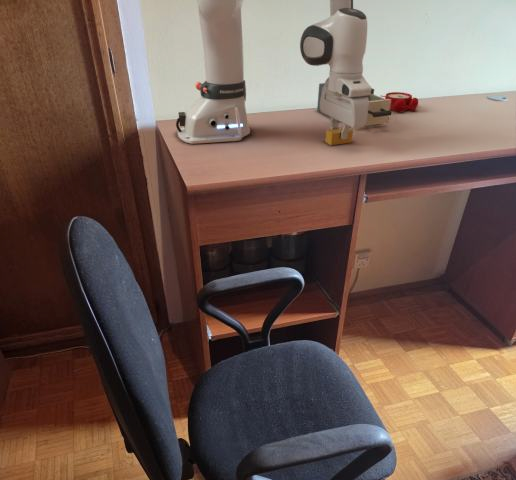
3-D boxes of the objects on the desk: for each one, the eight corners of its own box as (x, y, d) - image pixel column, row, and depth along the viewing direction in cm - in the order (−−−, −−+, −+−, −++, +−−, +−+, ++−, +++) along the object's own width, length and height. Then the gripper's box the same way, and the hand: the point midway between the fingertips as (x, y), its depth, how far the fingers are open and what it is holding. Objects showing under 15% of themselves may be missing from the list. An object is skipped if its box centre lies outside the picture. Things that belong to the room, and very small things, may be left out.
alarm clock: (400, 91, 165) (427, 89, 153) (399, 110, 168) (425, 110, 156) (376, 93, 162) (401, 92, 150) (375, 113, 165) (400, 113, 153)
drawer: (396, 127, 141) (400, 103, 136) (365, 131, 137) (369, 107, 133) (364, 112, 154) (367, 90, 149) (335, 116, 150) (337, 93, 146)
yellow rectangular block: (330, 145, 130) (331, 133, 128) (325, 142, 133) (326, 130, 131) (351, 142, 132) (353, 130, 130) (345, 139, 135) (346, 127, 133)
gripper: (316, 76, 129) (312, 128, 138) (354, 91, 114) (347, 148, 124) (335, 74, 131) (330, 125, 140) (375, 89, 116) (367, 145, 125)
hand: (339, 136), depth 132 cm, fingers closed on yellow rectangular block, 3 cm apart
